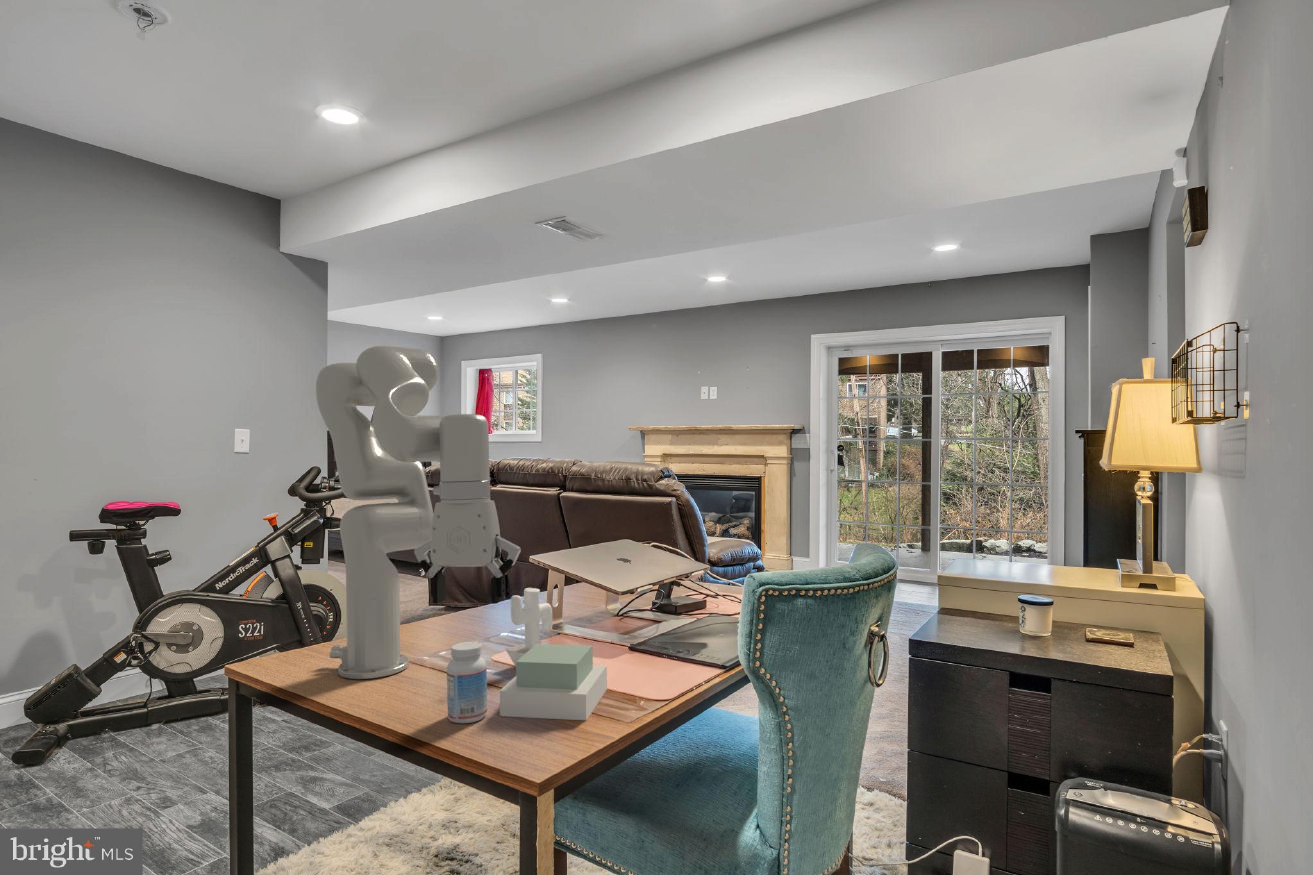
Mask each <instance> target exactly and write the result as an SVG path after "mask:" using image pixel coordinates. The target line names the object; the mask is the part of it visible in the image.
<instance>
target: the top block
mask: <svg viewBox="0 0 1313 875" xmlns="http://www.w3.org/2000/svg"><path fill="white" fill-rule="evenodd" d="M593 653H594V652H593V645H581V644H580V645H579V644H550V643H547V644H536V645H535V646H534V647H533V648H531V649H530V650H529V651H528V652H527V653H526V654H525V655H523V656H522V657H521V658H520V659H519V660H518V661H516V666H515V673H516V674H515V676H516V687H533V688H555V689H578V688H579V686H580V685H581V684H582V682H583V681H584V680H585V678H586V677H587V676H588V675H589V673H590V672H591V671H592V669H593V665H594V664H593V663H594V661H593V657H594V656H593Z"/></svg>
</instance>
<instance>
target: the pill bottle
mask: <svg viewBox="0 0 1313 875" xmlns="http://www.w3.org/2000/svg"><path fill="white" fill-rule="evenodd" d="M482 648H483V647H482V643H481V642H477V641H465V642H459V643H456V644H453V645H452V646H451V647H450V656H451V658H452V660H450V661H449V662H448V663H447V666H446V688H447V689H446V692H447V693H446V694H447V696H446V697H447V718H448V720H449V721H450V722H451V723H455V724H470V723H475V722H478V721H480V720H483V718H485V717H486V716H487V714H488V684H487V683H488V678H487V677H488V676H487V675H488V673H487V661H486V660H485V658H483V657H481V655H482V653H483V651H482V650H483V649H482Z"/></svg>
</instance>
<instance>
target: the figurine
mask: <svg viewBox="0 0 1313 875" xmlns="http://www.w3.org/2000/svg"><path fill="white" fill-rule="evenodd" d="M540 593H541V590H540V589H539V588H536V587H534V588H533V587H527V588H524V589H523V600H522V597H521V596H520V595H515V594H514V595H512V596H511V597H510V618H511V619H510V620H511V622H512V623H513V624H514V625H515V626H520V625H523V624H524V643H521V644H518V645H514V646H511V647H507V648H505V651H506V653H507V654H508V656H509V657H510V660H511V661H512V663H513V664H514V666H515V667H516V661H518V660H519V659H520V658H521V657H522V656H523V655H525V654H526V653H527V652H528V651H529V650H530V649H531V648H533V647H534V646H535V645H536V644H548V643H546V642H543V641H540V638H541V637H540V636H541V635H540V633H541V632H540V631H541V630H540V620H541V628H542V630H543V631H551V630H552V629H553V607H552V606H551V604H550V603H548V602H543V603H540ZM523 605H524V606H523Z"/></svg>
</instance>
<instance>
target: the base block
mask: <svg viewBox="0 0 1313 875" xmlns="http://www.w3.org/2000/svg"><path fill="white" fill-rule="evenodd" d="M607 690H608V666H607V665H595V664H593V669H592V671H591V672H590V673H589V675H588V676H587V677H586V678H585V680H584V681H583V682H582V684H581V685H580V686H579V688H578V689H555V688H533V687H516V675H515V676H514V677H513V678H511V679H510V680H509V681H508V683H506V685H504V686H503V687H502V688H501V689H500V690H499V716H500V717H510V718H527V719H528V718H531V719H532V718H533V719H534V718H535V719H548V720H549V719H551V720H552V719H553V720H571V721H587V720H588V719H589V717H590V715H591V714H592V713H593V711H594V710H595V709H596V706H597V705H598V703H600V701H601V699H602V697H603V695H604V694H605V693H606V692H607Z"/></svg>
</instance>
